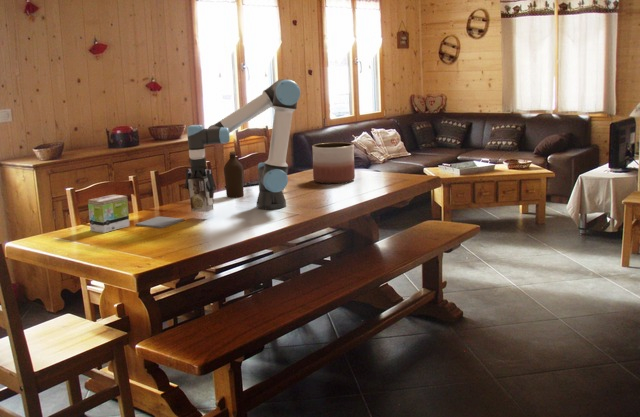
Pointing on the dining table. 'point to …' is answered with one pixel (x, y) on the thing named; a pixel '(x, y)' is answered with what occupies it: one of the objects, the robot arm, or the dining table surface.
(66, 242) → the dining table surface
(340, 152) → the planter
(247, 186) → the remote control
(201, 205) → the coffee box
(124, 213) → the tea box
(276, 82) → the robot arm
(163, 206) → the dining table surface
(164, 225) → the charcoal mat
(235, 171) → the olive oil
